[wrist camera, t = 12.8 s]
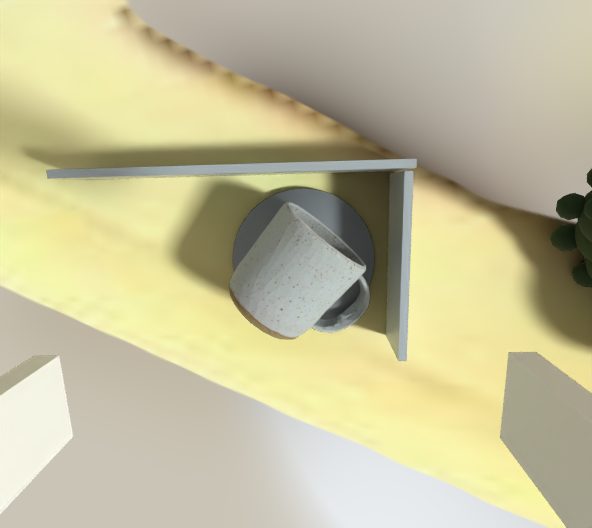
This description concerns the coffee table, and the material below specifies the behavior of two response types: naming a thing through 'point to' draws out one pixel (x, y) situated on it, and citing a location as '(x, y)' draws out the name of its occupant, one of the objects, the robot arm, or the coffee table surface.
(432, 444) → the coffee table surface
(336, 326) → the ceramic mug
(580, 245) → the toy figurine
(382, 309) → the coffee table surface
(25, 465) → the robot arm
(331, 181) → the coffee table surface
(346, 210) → the slate coaster
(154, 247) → the coffee table surface
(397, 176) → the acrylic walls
